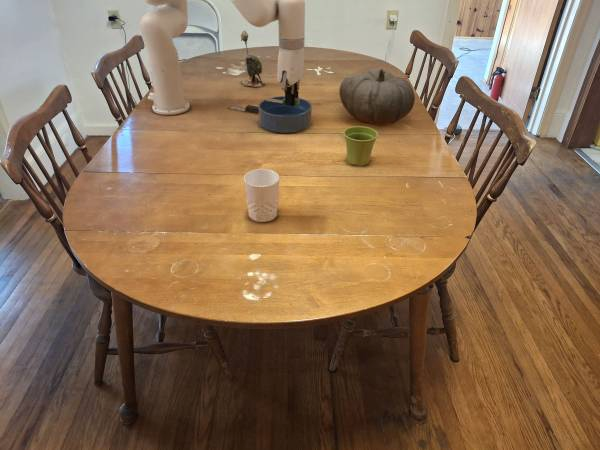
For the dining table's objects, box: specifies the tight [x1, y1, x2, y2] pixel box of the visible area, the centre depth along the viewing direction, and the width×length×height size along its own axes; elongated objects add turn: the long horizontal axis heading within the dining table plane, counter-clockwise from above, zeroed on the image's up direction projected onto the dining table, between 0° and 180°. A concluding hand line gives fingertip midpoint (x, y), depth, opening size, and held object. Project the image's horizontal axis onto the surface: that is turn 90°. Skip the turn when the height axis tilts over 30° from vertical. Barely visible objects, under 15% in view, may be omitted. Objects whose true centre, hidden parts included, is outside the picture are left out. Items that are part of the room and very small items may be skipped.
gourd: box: [338, 68, 416, 126], centre depth 152 cm, size 25×25×17 cm
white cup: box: [243, 168, 280, 223], centre depth 106 cm, size 8×8×10 cm
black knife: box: [229, 104, 259, 115], centre depth 160 cm, size 11×2×2 cm, turn 66°
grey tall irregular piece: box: [240, 30, 266, 88], centre depth 175 cm, size 8×11×20 cm
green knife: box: [266, 97, 300, 106], centre depth 146 cm, size 11×2×2 cm, turn 66°
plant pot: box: [342, 125, 379, 167], centre depth 128 cm, size 9×9×9 cm
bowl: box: [257, 95, 313, 134], centre depth 150 cm, size 17×17×6 cm
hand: (291, 103), depth 145 cm, fingers closed on green knife, 1 cm apart
